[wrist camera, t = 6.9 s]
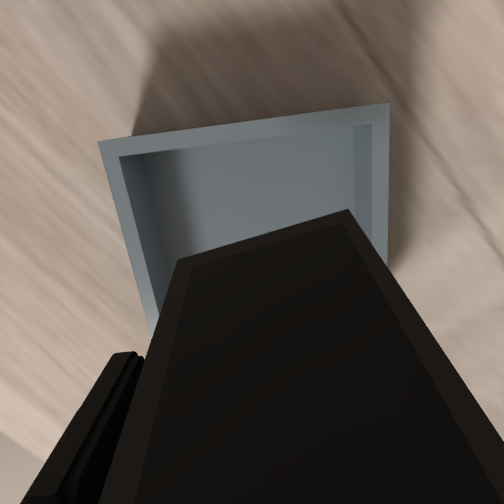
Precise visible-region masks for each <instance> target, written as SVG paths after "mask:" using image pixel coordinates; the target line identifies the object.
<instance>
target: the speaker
mask: <svg viewBox="0 0 504 504" xmlns="http://www.w3.org/2000/svg"><path fill="white" fill-rule="evenodd" d="M98 504H504V441H503V440H502V438H501V437H500V435H499V434H498V432H497V431H496V429H495V428H494V426H493V425H492V423H491V422H490V420H489V419H488V417H487V416H486V414H485V413H484V411H483V410H482V408H481V407H480V405H479V404H478V402H477V401H476V399H475V398H474V396H473V395H472V393H471V392H470V390H469V389H468V387H467V386H466V384H465V383H464V381H463V380H462V378H461V377H460V375H459V374H458V372H457V371H456V369H455V368H454V366H453V365H452V363H451V362H450V360H449V359H448V357H447V356H446V354H445V353H444V351H443V350H442V348H441V347H440V345H439V344H438V342H437V341H436V339H435V338H434V336H433V335H432V333H431V332H430V330H429V329H428V327H427V326H426V324H425V323H424V321H423V320H422V318H421V317H420V315H419V314H418V312H417V311H416V309H415V308H414V306H413V305H412V303H411V302H410V300H409V299H408V297H407V296H406V294H405V293H404V291H403V290H402V288H401V287H400V285H399V284H398V282H397V281H396V279H395V278H394V276H393V275H392V273H391V272H390V270H389V269H388V267H387V266H386V264H385V263H384V261H383V260H382V258H381V257H380V255H379V254H378V252H377V251H376V249H375V248H374V246H373V245H372V243H371V242H370V240H369V239H368V237H367V236H366V234H365V233H364V231H363V230H362V228H361V227H360V225H359V224H358V222H357V221H356V219H355V218H354V216H353V215H352V213H351V212H350V210H349V209H345V210H342V211H338V212H335V213H332V214H328V215H325V216H322V217H318V218H315V219H312V220H308V221H305V222H302V223H298V224H295V225H291V226H288V227H285V228H281V229H278V230H275V231H271V232H268V233H265V234H261V235H258V236H255V237H251V238H248V239H245V240H241V241H238V242H235V243H231V244H228V245H225V246H221V247H218V248H215V249H211V250H208V251H205V252H201V253H198V254H194V255H191V256H188V257H184V258H181V259H178V260H177V263H176V266H175V269H174V272H173V275H172V278H171V281H170V284H169V287H168V290H167V294H166V297H165V300H164V303H163V306H162V309H161V312H160V315H159V318H158V321H157V324H156V327H155V330H154V334H153V337H152V340H151V343H150V346H149V349H148V352H147V355H146V358H145V361H144V364H143V367H142V370H141V373H140V377H139V380H138V383H137V386H136V389H135V392H134V395H133V398H132V401H131V404H130V407H129V410H128V413H127V416H126V420H125V423H124V426H123V429H122V432H121V435H120V438H119V441H118V444H117V447H116V450H115V453H114V456H113V460H112V463H111V466H110V469H109V472H108V475H107V478H106V481H105V484H104V487H103V490H102V493H101V496H100V499H99V503H98Z"/></svg>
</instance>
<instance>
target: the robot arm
mask: <svg viewBox="0 0 504 504" xmlns="http://www.w3.org/2000/svg"><path fill="white" fill-rule="evenodd" d="M144 361H145V360H144V358H143V356H138V354H137V353H136V352H135V351H132V352H121V353H115V354H113V355H112V357H111V358H110V360H109V361H108V363H107V365H106V366H105V368H104V370H103V371H102V373H101V374H100V376H99V378H98V379H97V381H96V383H95V384H94V386H93V388H92V389H91V391H90V392H89V394H88V396H87V397H86V399H85V401H84V402H83V404H82V405H81V407H80V408H79V410H78V411H77V412H76V414H75V415H74V417H73V419H72V420H71V422H70V424H69V425H68V427H67V428H66V430H65V432H64V433H63V435H62V437H61V438H60V440H59V441H58V443H57V445H56V446H55V448H54V450H53V451H52V453H51V454H50V456H49V458H48V459H47V461H46V462H45V464H44V466H43V467H42V469H41V471H40V472H39V474H38V476H37V477H36V479H35V480H34V482H33V484H32V485H31V487H30V488H29V490H28V492H27V493H26V495H25V497H24V498H23V500H22V502H21V503H20V504H98V503H99V499H100V496H101V493H102V490H103V487H104V484H105V481H106V478H107V475H108V472H109V469H110V466H111V463H112V460H113V456H114V453H115V450H116V447H117V444H118V441H119V438H120V435H121V432H122V429H123V426H124V423H125V420H126V416H127V413H128V410H129V407H130V404H131V401H132V398H133V395H134V392H135V389H136V386H137V383H138V380H139V377H140V373H141V370H142V367H143V364H144Z"/></svg>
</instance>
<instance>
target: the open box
mask: <svg viewBox="0 0 504 504" xmlns="http://www.w3.org/2000/svg"><path fill="white" fill-rule="evenodd" d="M389 140H390V102H388V103H378V104H368V105H360V106H352V107H345V108H337V109H330V110H322V111H315V112H307V113H300V114H292V115H285V116H278V117H270V118H263V119H255V120H248V121H240V122H233V123H225V124H218V125H210V126H203V127H196V128H188V129H181V130H173V131H166V132H158V133H151V134H143V135H136V136H129V137H123V138H116V139H110V140H104V141H98V145H99V148H100V152H101V156H102V159H103V163H104V167H105V170H106V174H107V178H108V181H109V185H110V189H111V192H112V196H113V200H114V203H115V207H116V210H117V214H118V218H119V221H120V225H121V229H122V232H123V236H124V240H125V243H126V247H127V251H128V254H129V258H130V262H131V265H132V269H133V273H134V276H135V280H136V284H137V287H138V291H139V294H140V298H141V302H142V305H143V309H144V313H145V316H146V320H147V324H148V327H149V331H150V335H151V338H152V337H153V334H154V330H155V327H156V324H157V321H158V318H159V315H160V312H161V309H162V306H163V303H164V300H165V297H166V294H167V290H168V287H169V284H170V281H171V278H172V275H173V272H174V269H175V266H176V263H177V260H178V259H181V258H184V257H188V256H191V255H194V254H198V253H201V252H205V251H208V250H211V249H215V248H218V247H221V246H225V245H228V244H231V243H235V242H238V241H241V240H245V239H248V238H251V237H255V236H258V235H261V234H265V233H268V232H271V231H275V230H278V229H281V228H285V227H288V226H291V225H295V224H298V223H302V222H305V221H308V220H312V219H315V218H318V217H322V216H325V215H328V214H332V213H335V212H338V211H342V210H345V209H349V210H350V212H351V213H352V215H353V216H354V218H355V219H356V221H357V222H358V224H359V225H360V227H361V228H362V230H363V231H364V233H365V234H366V236H367V237H368V239H369V240H370V242H371V243H372V245H373V246H374V248H375V249H376V251H377V252H378V254H379V255H380V257H381V258H382V260H383V261H384V263H385V264H386V266H387V258H388V199H389Z"/></svg>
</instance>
